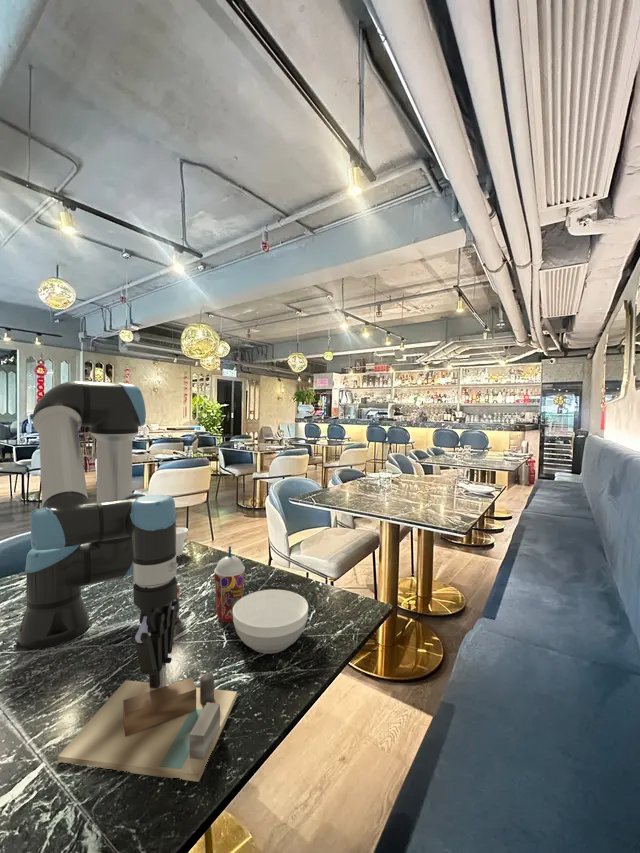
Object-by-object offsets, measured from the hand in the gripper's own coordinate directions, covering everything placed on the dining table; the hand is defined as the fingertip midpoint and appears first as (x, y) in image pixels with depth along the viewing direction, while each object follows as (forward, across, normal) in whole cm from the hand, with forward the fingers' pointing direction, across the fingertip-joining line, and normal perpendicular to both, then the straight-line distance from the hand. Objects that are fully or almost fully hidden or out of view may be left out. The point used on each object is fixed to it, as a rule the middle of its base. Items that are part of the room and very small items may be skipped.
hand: (158, 698), depth 74 cm
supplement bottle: (+4, +31, +14) cm, 34 cm away
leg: (+1, -3, -2) cm, 3 cm away
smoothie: (+4, +34, -2) cm, 35 cm away
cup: (+5, +77, +34) cm, 84 cm away
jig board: (+2, -4, -2) cm, 5 cm away
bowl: (+4, +25, -16) cm, 30 cm away
